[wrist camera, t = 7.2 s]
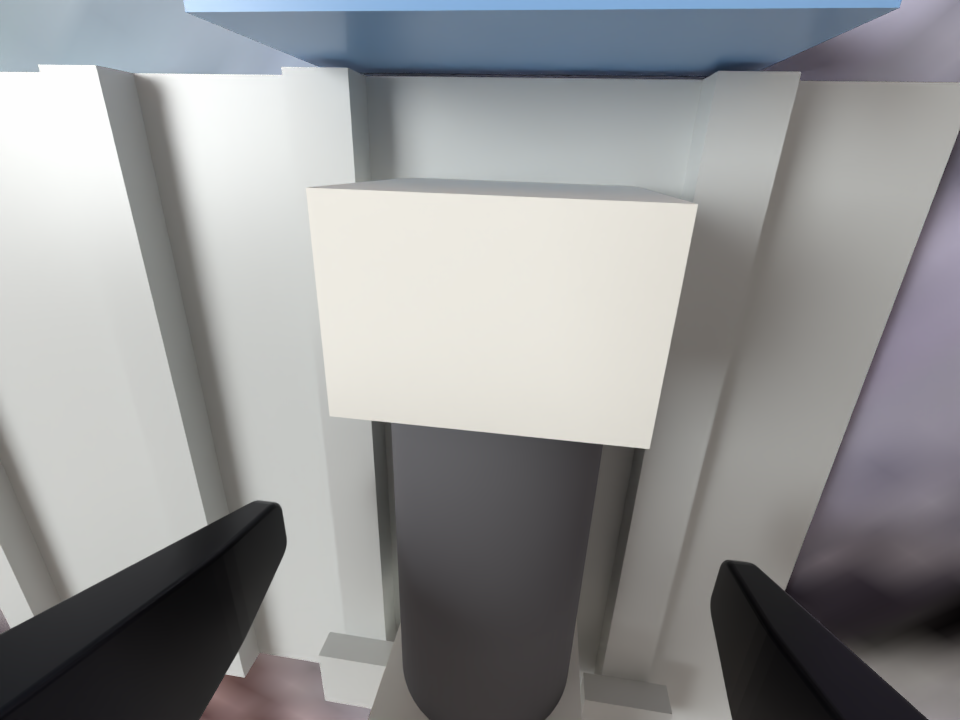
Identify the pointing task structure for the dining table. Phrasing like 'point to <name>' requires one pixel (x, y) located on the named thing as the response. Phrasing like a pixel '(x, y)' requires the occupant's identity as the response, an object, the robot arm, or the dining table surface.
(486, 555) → the cream and grey dumbbell
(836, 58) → the dining table surface
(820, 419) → the white ribbed plate
